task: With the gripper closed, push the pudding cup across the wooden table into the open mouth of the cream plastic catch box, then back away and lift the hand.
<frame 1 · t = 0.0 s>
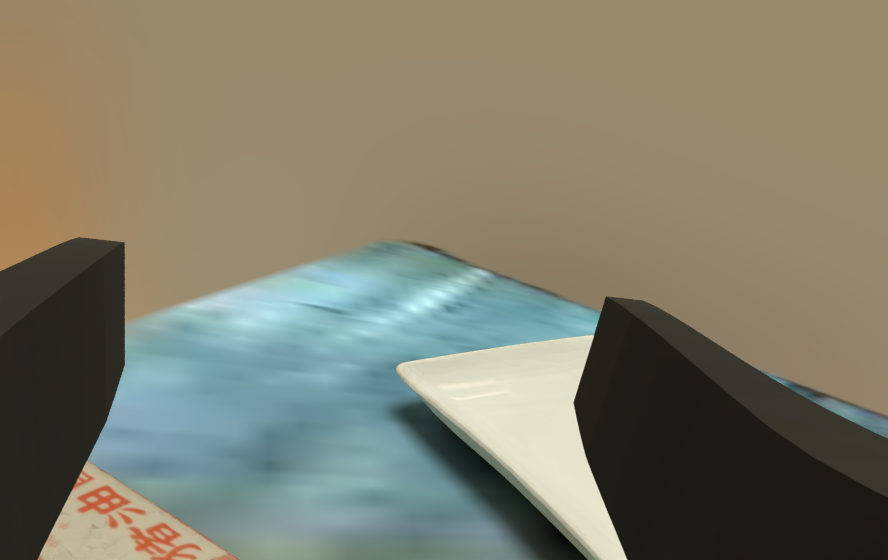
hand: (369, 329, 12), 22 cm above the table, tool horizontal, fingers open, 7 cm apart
square plate: (673, 487, 49), on the table, touching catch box
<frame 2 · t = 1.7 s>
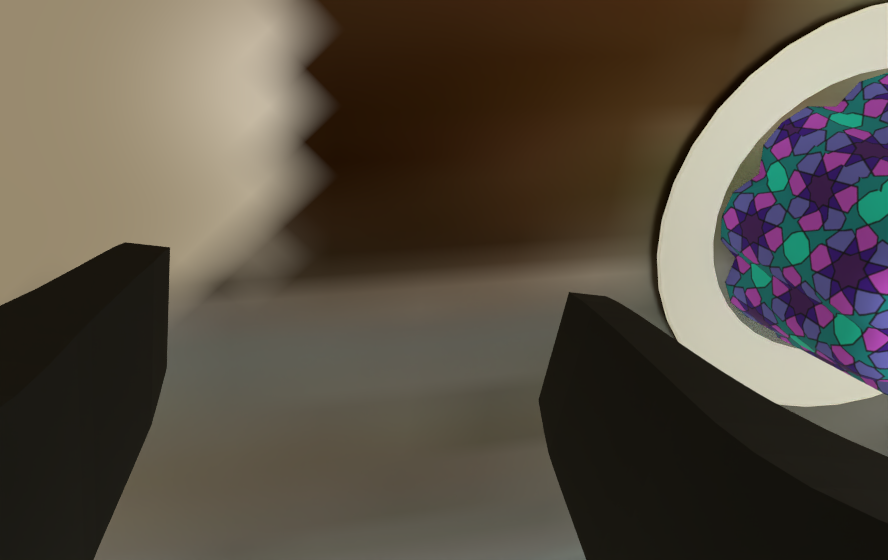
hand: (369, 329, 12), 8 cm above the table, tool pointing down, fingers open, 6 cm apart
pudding: (850, 214, 22), on the table
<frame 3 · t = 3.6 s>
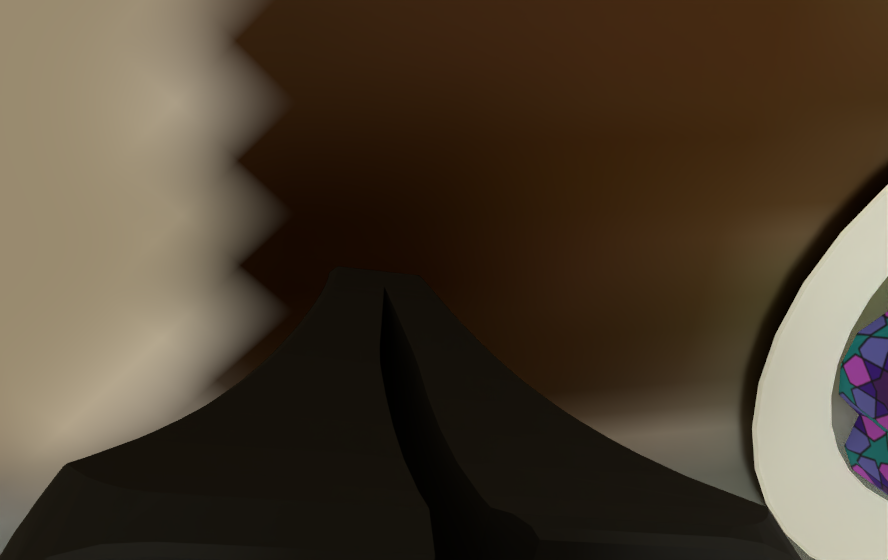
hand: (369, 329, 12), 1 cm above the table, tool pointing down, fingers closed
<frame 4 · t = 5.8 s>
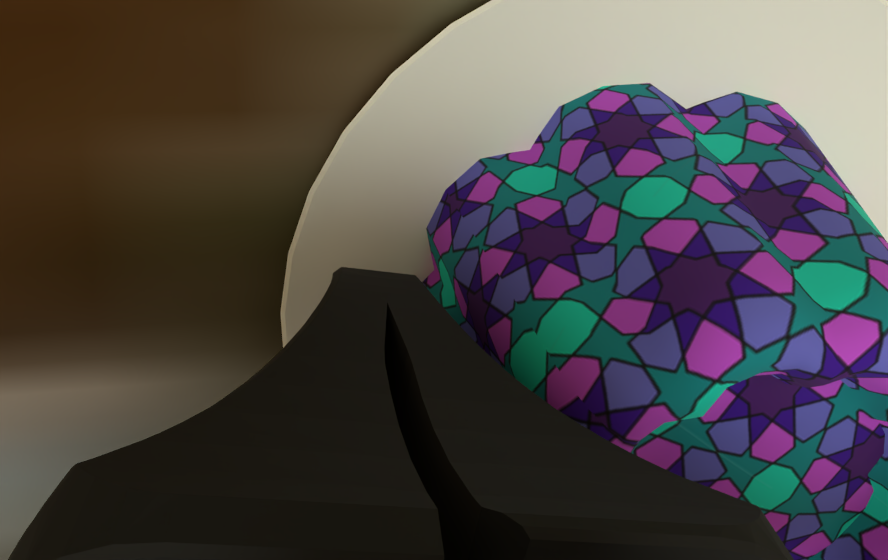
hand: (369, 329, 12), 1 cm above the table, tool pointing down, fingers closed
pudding: (625, 302, 14), on the table, touching gripper
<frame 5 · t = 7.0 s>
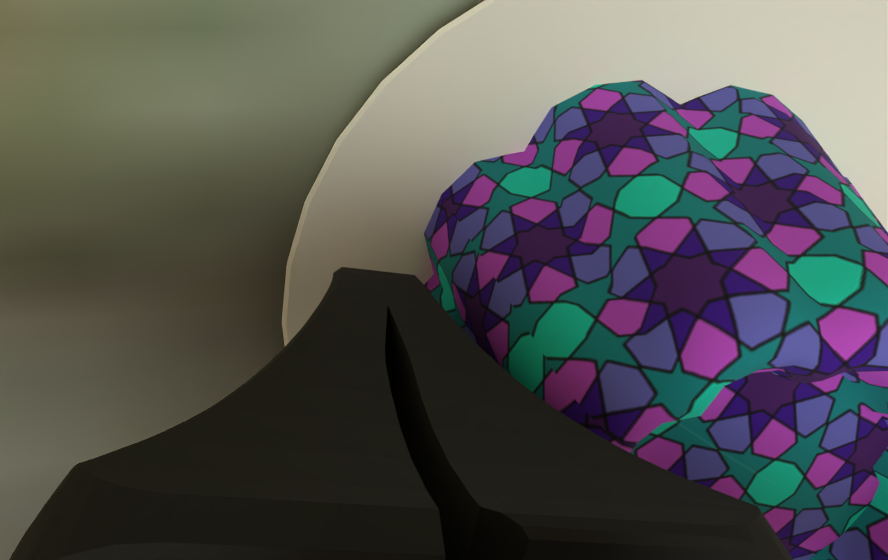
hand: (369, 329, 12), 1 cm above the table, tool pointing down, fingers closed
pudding: (627, 299, 14), on the table, touching gripper
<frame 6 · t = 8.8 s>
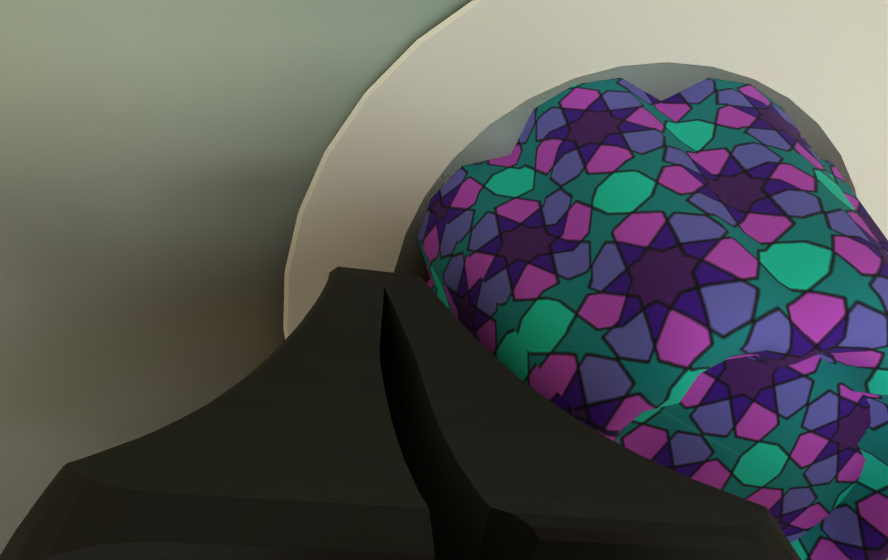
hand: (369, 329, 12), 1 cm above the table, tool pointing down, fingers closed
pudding: (621, 290, 14), on the table
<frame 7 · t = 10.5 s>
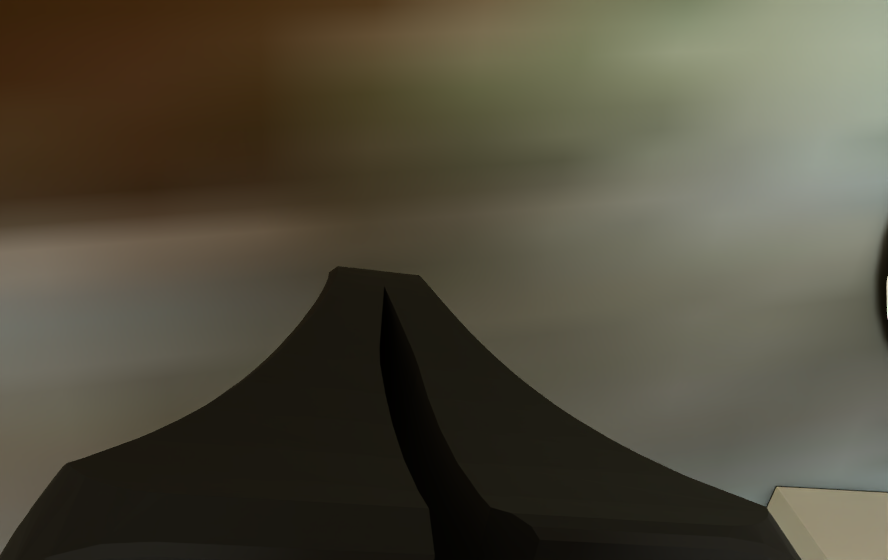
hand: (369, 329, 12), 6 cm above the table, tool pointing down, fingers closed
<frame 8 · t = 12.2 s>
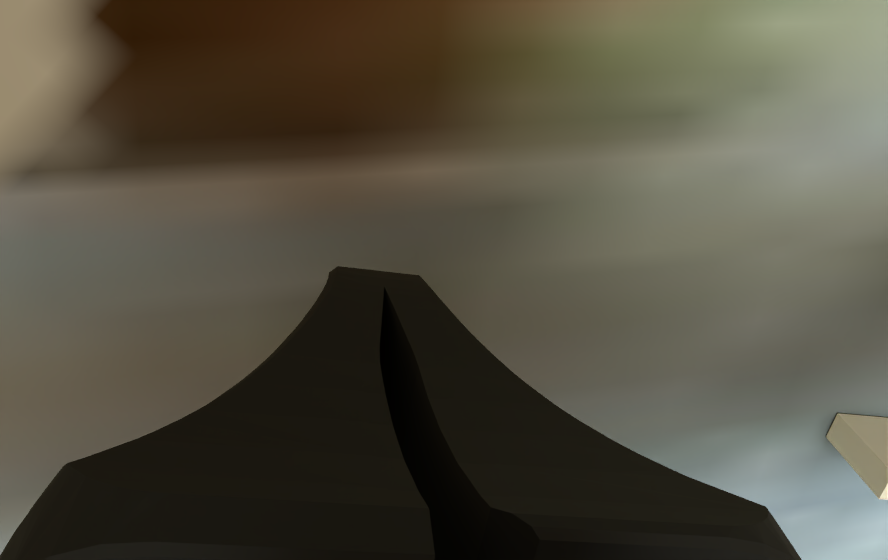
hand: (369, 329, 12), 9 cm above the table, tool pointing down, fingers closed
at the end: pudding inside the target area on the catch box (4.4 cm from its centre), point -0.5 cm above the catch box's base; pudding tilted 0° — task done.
